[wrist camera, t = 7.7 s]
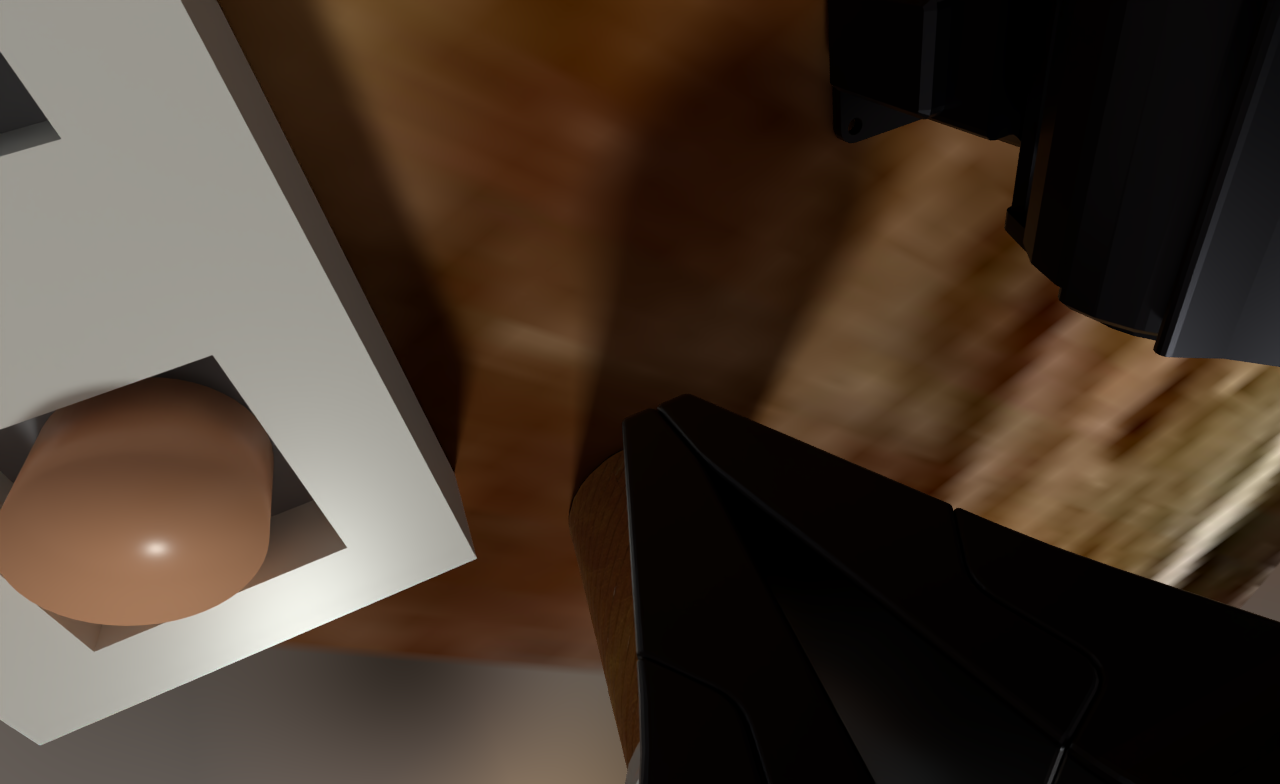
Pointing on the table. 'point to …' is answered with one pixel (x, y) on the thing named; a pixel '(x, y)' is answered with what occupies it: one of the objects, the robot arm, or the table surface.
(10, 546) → the terracotta button
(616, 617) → the disposable coffee cup
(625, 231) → the table surface
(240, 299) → the button panel
